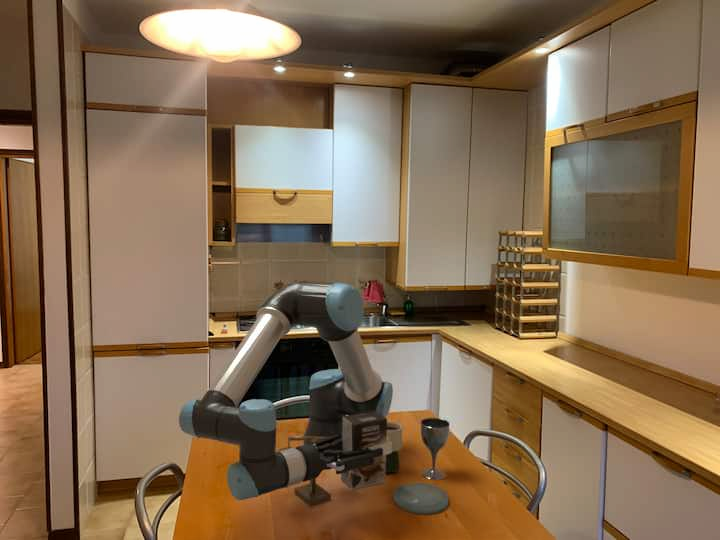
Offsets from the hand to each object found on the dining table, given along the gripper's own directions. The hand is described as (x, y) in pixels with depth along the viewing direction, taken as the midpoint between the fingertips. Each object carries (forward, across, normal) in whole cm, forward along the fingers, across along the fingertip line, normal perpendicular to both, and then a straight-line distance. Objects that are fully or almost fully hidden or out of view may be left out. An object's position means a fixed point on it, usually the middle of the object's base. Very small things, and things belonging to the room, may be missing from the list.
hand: (380, 441), depth 136 cm
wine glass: (+25, -7, -18) cm, 31 cm away
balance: (-10, -15, -18) cm, 25 cm away
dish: (+12, +2, -18) cm, 21 cm away
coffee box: (-5, 0, -9) cm, 10 cm away
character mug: (+16, -16, -18) cm, 29 cm away
